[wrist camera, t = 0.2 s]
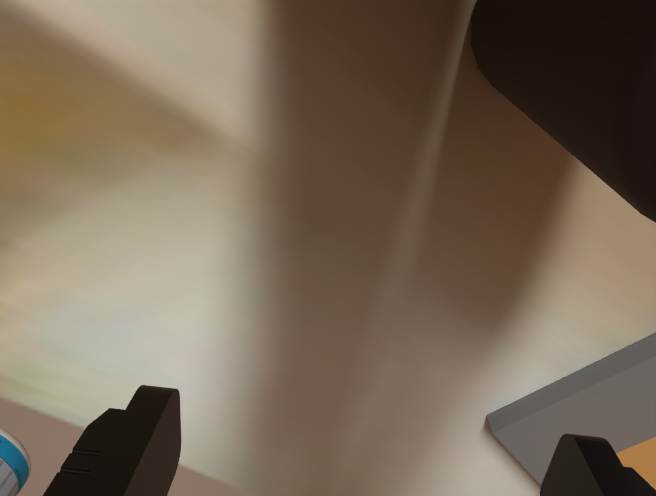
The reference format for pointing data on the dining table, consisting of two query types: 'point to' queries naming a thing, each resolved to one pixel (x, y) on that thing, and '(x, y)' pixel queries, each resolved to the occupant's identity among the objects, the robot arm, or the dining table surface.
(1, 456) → the beverage bottle
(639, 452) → the orange block
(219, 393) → the dining table surface
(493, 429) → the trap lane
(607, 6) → the vinegar
